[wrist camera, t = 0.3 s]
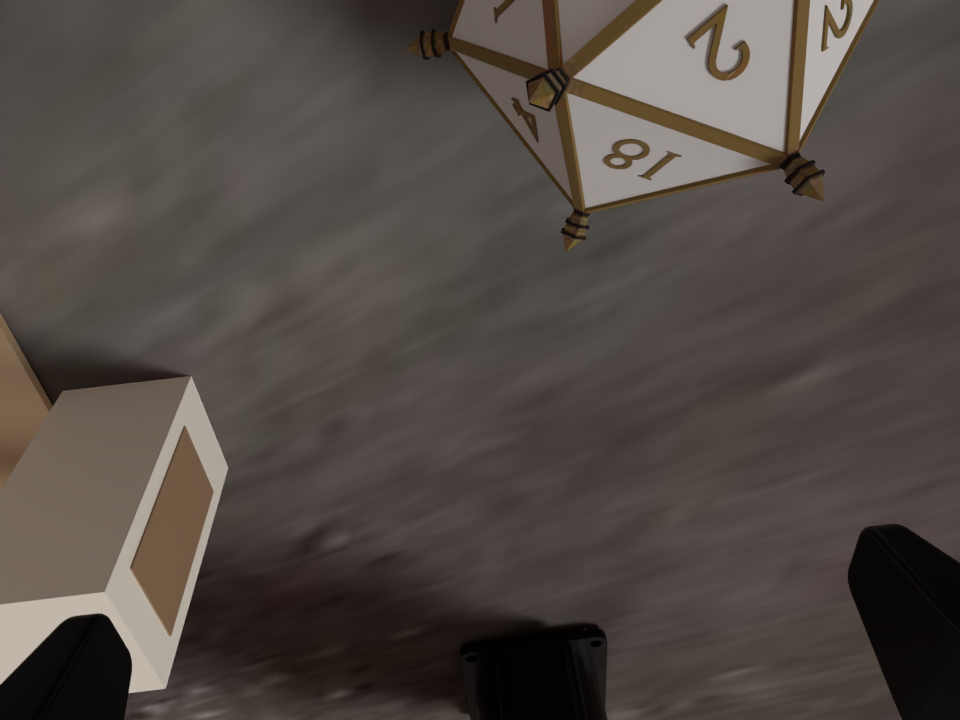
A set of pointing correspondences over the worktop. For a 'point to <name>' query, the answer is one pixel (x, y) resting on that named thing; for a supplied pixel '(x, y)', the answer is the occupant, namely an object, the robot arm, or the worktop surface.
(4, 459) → the cork trivet
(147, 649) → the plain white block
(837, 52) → the game die
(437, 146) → the worktop surface
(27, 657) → the robot arm
